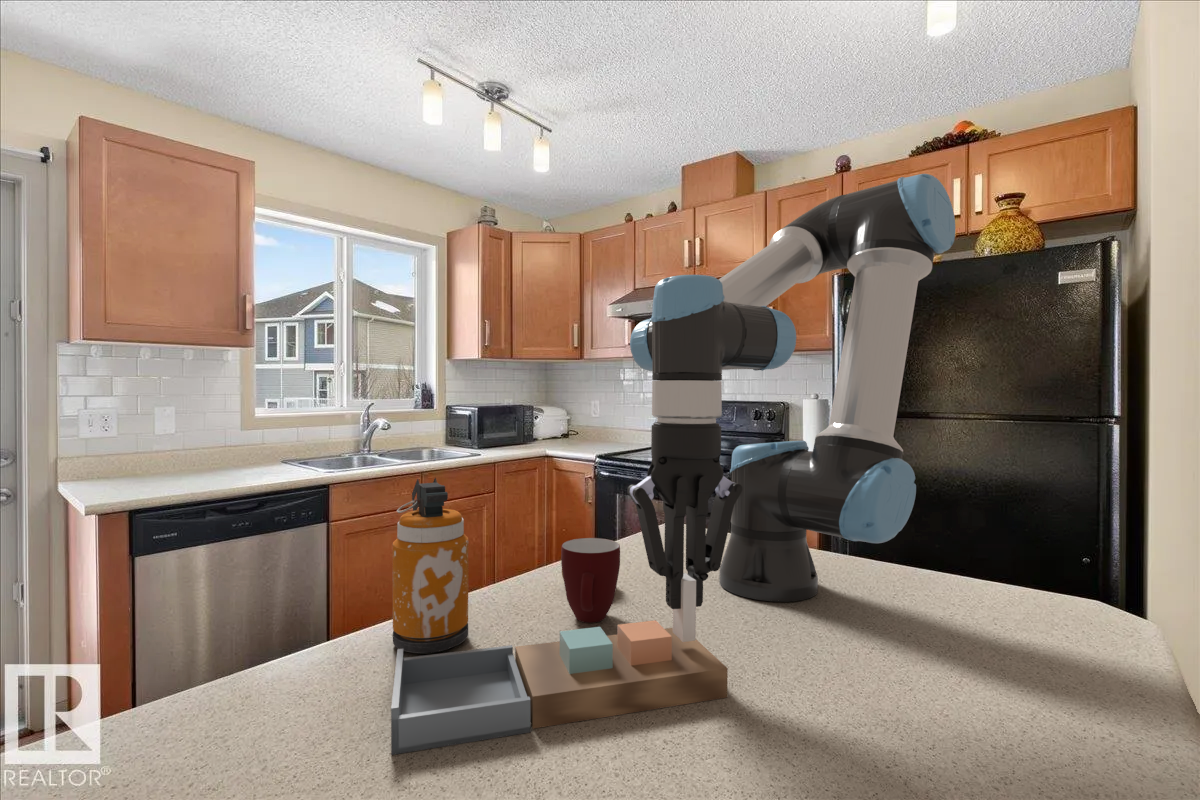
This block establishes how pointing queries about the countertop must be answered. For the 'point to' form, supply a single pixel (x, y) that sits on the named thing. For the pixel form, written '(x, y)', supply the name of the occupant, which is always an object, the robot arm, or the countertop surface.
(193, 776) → the countertop surface
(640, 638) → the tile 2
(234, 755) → the countertop surface
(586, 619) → the mug
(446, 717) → the box
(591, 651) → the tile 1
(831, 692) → the countertop surface
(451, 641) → the canister
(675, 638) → the tan wooden flat box
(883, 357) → the robot arm
